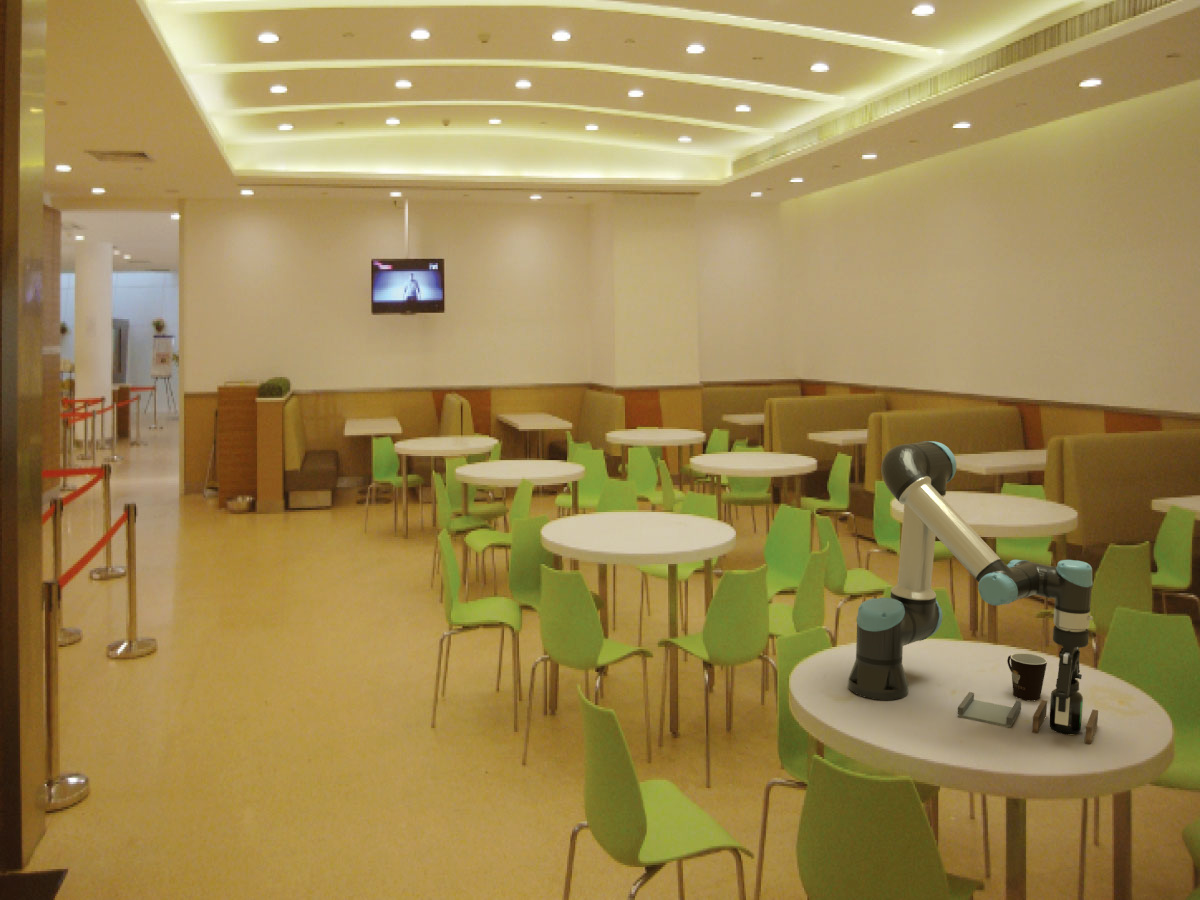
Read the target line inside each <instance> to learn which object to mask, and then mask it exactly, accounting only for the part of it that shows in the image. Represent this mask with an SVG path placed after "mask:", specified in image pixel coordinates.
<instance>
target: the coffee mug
mask: <svg viewBox="0 0 1200 900" xmlns="http://www.w3.org/2000/svg"><path fill="white" fill-rule="evenodd" d="M1006 661H1007V662H1006V663H1007V666H1008V668H1009V670H1010V672H1011V681H1012V682H1011V683H1012V695H1013V696H1014V697H1015V698H1016V697H1017V698H1016V699H1020V700H1023V701H1027V700H1030V701H1031V702H1032V701H1033V702H1034V700H1035V702H1036V701H1039V700H1040V699H1041V696H1042V695H1041V694H1042V691H1043V686H1044V679H1045V674H1046V669H1047V664H1048V660H1047V658H1045V657H1043V656H1041V655H1038V654H1033V653H1025V652H1022V653H1021V652H1020V653H1019V652H1017V653H1013V654H1010V655H1008V657H1007V660H1006Z"/></svg>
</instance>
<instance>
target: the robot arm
mask: <svg viewBox="0 0 1200 900" xmlns="http://www.w3.org/2000/svg"><path fill="white" fill-rule="evenodd" d="M880 471H881V477H882V480H883V482H884V484H885V486H886V487H887V489H888V491H889V492H890V493H891V495H892V496H893V497H894V498H895V499H896V500H897V501H898V503H900V504H901V505H903V516H902V525H901V538H900V539H901V540H900V549H899V551H900V552H899V561H898V573H897V583H896V584H895V585H894V586H893V587H891V589H890V597H879V598H876V597H874V598H873V597H872V598H869V599H866V600H865V601H862V602H861V604H860V605H859V606H858V609H857V616H856V647H855V649H856V652H855V660H854V663H853V666H852V668H851V671H850V673H849V676H848V681H847V685H848V686H847V687H849V688H848V690H849V689H850V690H851V691H850V690H849V691H850V692H852V691H853V692H854V693H853V692H852V693H853V694H855V693H857V694H858V695H857V694H856V695H857V696H859V695H861V696H860V697H862V696H865V697H864V698H866V697H869V698H868V699H870V698H874V699H873V700H877V699H881V700H880V701H891V700H892V701H893V700H899V698H900V699H903V698H905V697H906V696H907V695H908V694H909V683H908V682H909V681H908V679H907V676H906V672H905V669H904V666H903V652H904V651H903V649H904V646H907V645H910V644H913V643H917V642H918V641H919V642H921V641H924V640H926V639H927V640H928V638H930V637H931V636H933V635H935V633H937V632H938V630H939V629H940V628H941V626H942V623H943V610H942V607H941V606H940V605H939V601H938V600H937V594H936V592H935V591H934V590H933V589H932V579H933V571H934V570H933V569H934V556H935V545H936V538H937V539H938V540H939V541H940V542H941V543H942V544H943V545H944V546H945V548H946V549H947V550H948V551H949V552H950V553H951V554H952V555H953V556H954V557H955V559H957V561H958V562H959V563H960V564H961V565H962V566H963V567H964V568H965V569H966V570H967V571H968V573H970V575H971V576H972V578H974V580H976V582H977V583H978V585H977V588H978V593H979V595H980V597H981V599H982V600H983V601H984V602H985V603H987V604H988V605H991V606H996V607H997V606H1002V605H1004V606H1005V605H1009V604H1011V603H1013V602H1016V601H1018V600H1021V599H1024V598H1025V599H1026V598H1028V597H1031V596H1039V597H1043V598H1049V599H1053V600H1054V611H1053V624H1054V626H1053V629H1052V630H1053V631H1052V641H1053V642H1054V643H1055V644H1057V645H1060V646H1062V647H1061V649H1060V651H1059V654H1058V657H1059V658H1058V659H1059V661H1058V673H1057V678H1058V679H1056V682H1057V687H1056V686H1055V689H1056V693H1053V696H1055V697H1056V712H1055V723H1057V724H1062V725H1067V726H1068V718H1069V702H1070V697H1069V692H1070V685H1071V678H1072V679H1075V680H1077V681H1079V680H1082V676H1083V675H1082V674H1081V672H1080V671H1081V670H1080V656H1081V651H1080V648H1085V647H1087V646H1088V644H1089V641H1090V640H1089V638H1090V637H1089V636H1090V631H1089V628H1090V621H1092V620H1093V619H1094V617H1093V615H1090V614H1091V601H1092V591H1093V584H1094V582H1093V568H1092V566H1091V564H1089V563H1088V562H1085V561H1083V560H1082V561H1081V560H1073V559H1061V560H1059V561H1058V562H1057V565H1056V566H1052V565H1047V564H1043V563H1039V562H1033V561H1030V560H1027V559H1023V560H1022V559H1021V560H1020V559H1012V560H1010V561H1009V562H1008V564H1006V563H1005V562H1004V561H1003V560H1002V559H1001V558H1000V556H999V555H997V553H996V552H995V551H994V550H993V549H992V548H991V547H990V546H989V545H988V544H987V543H986V542H985V541H984V540H983V539H982V538H981V537H980V535H979V534H978V533H977V532H976V531H975V530H974V528H972V527H971V526H970V525H969V523H968V522H967V521H966V520H965V519H964V518H963V517H962V516H961V514H959V513H958V511H956V510H955V509H954V508H953V506H952V505H951V504H949V502H948V501H947V500H946V499H945V498H944V497H945V496H946V493H947V483H949V482H950V481H951V480H952V479H954V477H955V475H956V472H957V460H956V457H955V454H954V452H952V450H951V449H950V448H949V447H948V446H946V444H944V443H942V442H938V441H933V440H932V441H930V440H923V441H920V442H912V443H904V444H898V445H896V446H894V447H892V448H890V449H889V450H888V451H887V452H886V453H885V455H884V456H883V459H882V461H881V466H880ZM1060 691H1062V692H1060ZM1063 692H1065V693H1063ZM904 696H905V697H904ZM902 697H903V698H902ZM882 699H883V700H882Z"/></svg>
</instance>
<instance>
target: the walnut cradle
mask: <svg viewBox="0 0 1200 900" xmlns="http://www.w3.org/2000/svg"><path fill="white" fill-rule="evenodd" d="M1047 709H1048V700H1046V699H1041V700H1040V702H1039V705H1038V706H1037V709H1036V710H1035V712H1034V713H1033V715H1032V728H1031V730H1032V731H1031V733H1034V734H1038V733H1039V731H1040V730H1041V728H1042V726H1043V723H1044V722H1045V720H1046V718H1047V711H1048V710H1047ZM1045 717H1046V718H1045ZM1098 717H1099V710H1098V709H1092V710H1091V712H1090V716H1089V718H1088V721H1087V723H1086V726H1085V737H1084V738H1085V739H1084V744H1086V743H1088V744H1087V745H1091V744H1092V742H1093V739H1094V737H1093V736H1095V734H1096V731H1097V728H1098V722H1099V721H1098V720H1099V718H1098ZM1044 719H1045V720H1044ZM1094 733H1095V734H1094Z"/></svg>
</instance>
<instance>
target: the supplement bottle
mask: <svg viewBox="0 0 1200 900" xmlns="http://www.w3.org/2000/svg"><path fill="white" fill-rule="evenodd" d="M1057 679H1058V677H1057ZM1057 679H1056V680H1057ZM1077 680H1078V679H1077ZM1077 680H1075V679H1072V678H1071V685H1070V692H1069V697H1070V702H1069V718H1068V726H1067V725H1062V724H1057V723H1055V712H1056V697H1055V696H1053V693H1056V687H1057V681H1055V682H1056V684H1055V688H1054V689H1053V690H1052V691H1051V693H1050V706H1049V718H1048V719H1049V721H1048V722H1049V723H1048V726H1049V728H1050V729H1051V730H1052V731H1053V730H1054V731H1053V732H1055V731H1056V732H1055V733H1059V734H1061V733H1062V735H1066V734H1067V735H1068V734H1075V735H1078V734H1079V733H1080V732H1081V731H1082V721H1083V720H1082V719H1083V705H1084V698H1083V695H1082V693H1081V692H1079V691H1080V681H1079V680H1078V681H1077ZM1060 692H1062V691H1060ZM1063 693H1065V692H1063ZM1067 735H1066V736H1067ZM1068 736H1069V735H1068Z"/></svg>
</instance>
